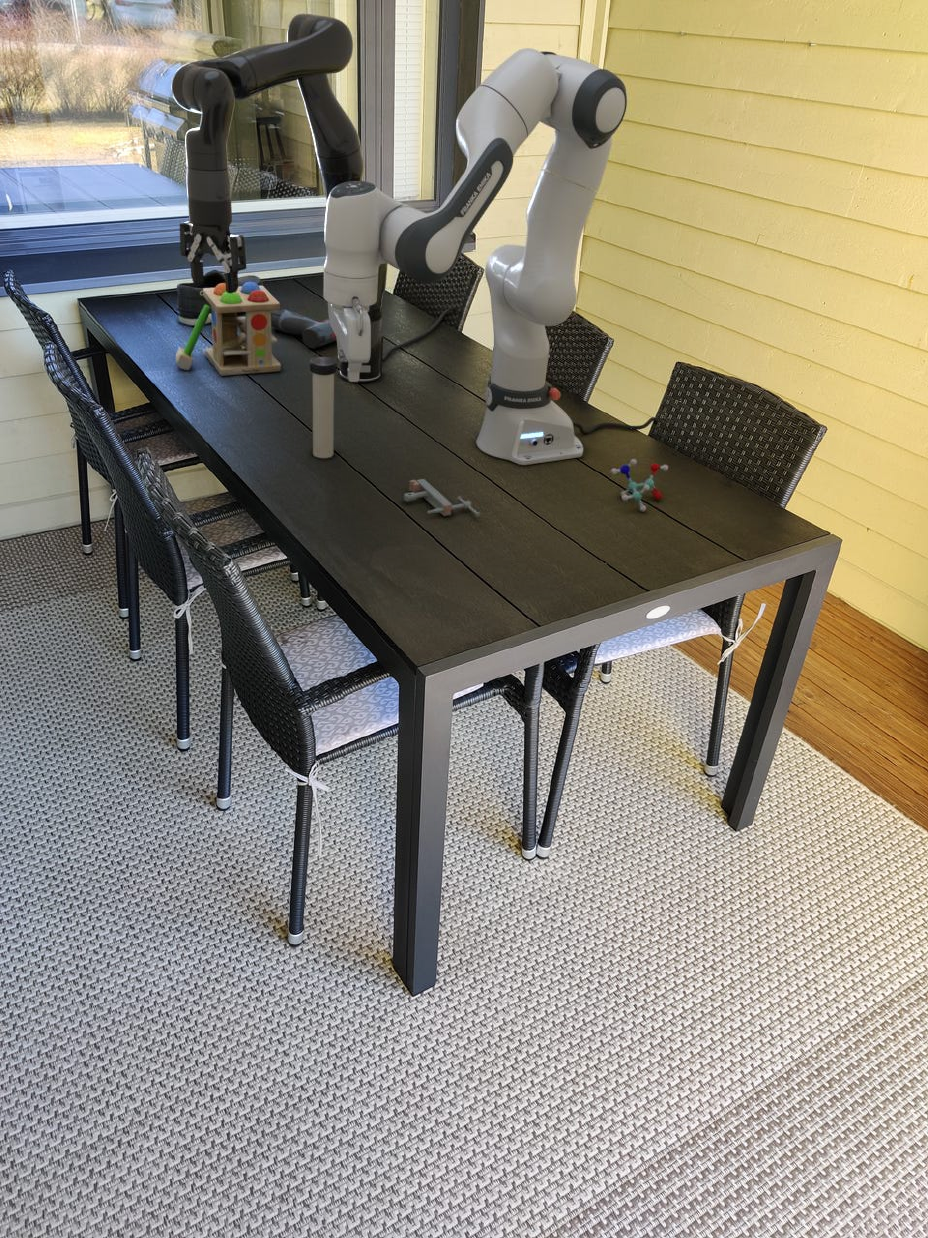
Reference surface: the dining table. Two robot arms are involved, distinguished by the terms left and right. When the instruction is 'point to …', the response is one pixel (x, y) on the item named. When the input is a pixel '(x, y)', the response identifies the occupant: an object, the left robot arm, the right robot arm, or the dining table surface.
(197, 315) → the boat shoe
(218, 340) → the pounding bench toy
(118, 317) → the dining table surface
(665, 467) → the molecular model
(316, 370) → the lid
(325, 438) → the white cylindrical bottle
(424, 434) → the dining table surface
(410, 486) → the clamp
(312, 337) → the power drill
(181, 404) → the dining table surface
